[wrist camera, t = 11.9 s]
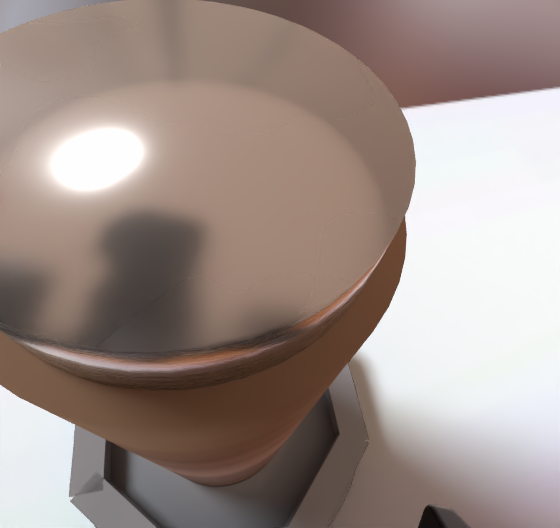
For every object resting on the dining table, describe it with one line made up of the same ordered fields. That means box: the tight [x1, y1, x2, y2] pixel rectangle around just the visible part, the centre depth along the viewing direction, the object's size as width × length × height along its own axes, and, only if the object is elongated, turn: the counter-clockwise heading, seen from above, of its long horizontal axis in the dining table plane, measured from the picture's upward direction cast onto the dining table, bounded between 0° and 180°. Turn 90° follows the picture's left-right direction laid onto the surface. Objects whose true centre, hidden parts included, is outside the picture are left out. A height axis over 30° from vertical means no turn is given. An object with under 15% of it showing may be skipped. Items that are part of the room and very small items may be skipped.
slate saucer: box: [69, 363, 369, 528], centre depth 14 cm, size 11×11×2 cm
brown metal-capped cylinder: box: [0, 0, 416, 487], centre depth 9 cm, size 5×5×13 cm
